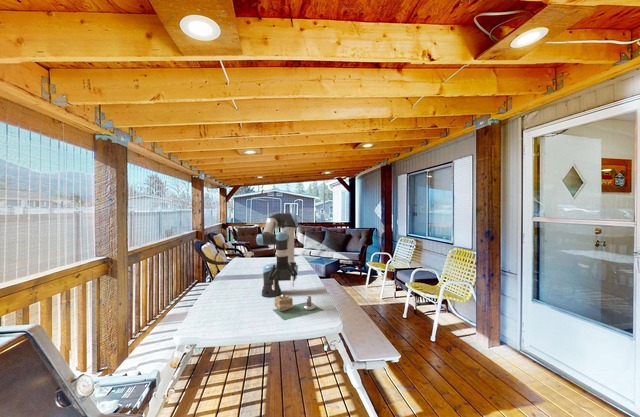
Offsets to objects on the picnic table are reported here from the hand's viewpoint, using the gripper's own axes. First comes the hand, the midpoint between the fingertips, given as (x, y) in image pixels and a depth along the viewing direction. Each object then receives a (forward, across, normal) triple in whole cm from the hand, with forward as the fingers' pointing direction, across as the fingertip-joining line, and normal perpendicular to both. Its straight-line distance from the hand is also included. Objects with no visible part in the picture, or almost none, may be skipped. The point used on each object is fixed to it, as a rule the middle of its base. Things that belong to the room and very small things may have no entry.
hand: (283, 287), depth 190 cm
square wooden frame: (+13, 0, 0) cm, 13 cm away
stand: (+15, 0, 0) cm, 15 cm away
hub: (+15, +15, -8) cm, 22 cm away
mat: (+15, +8, -6) cm, 18 cm away
